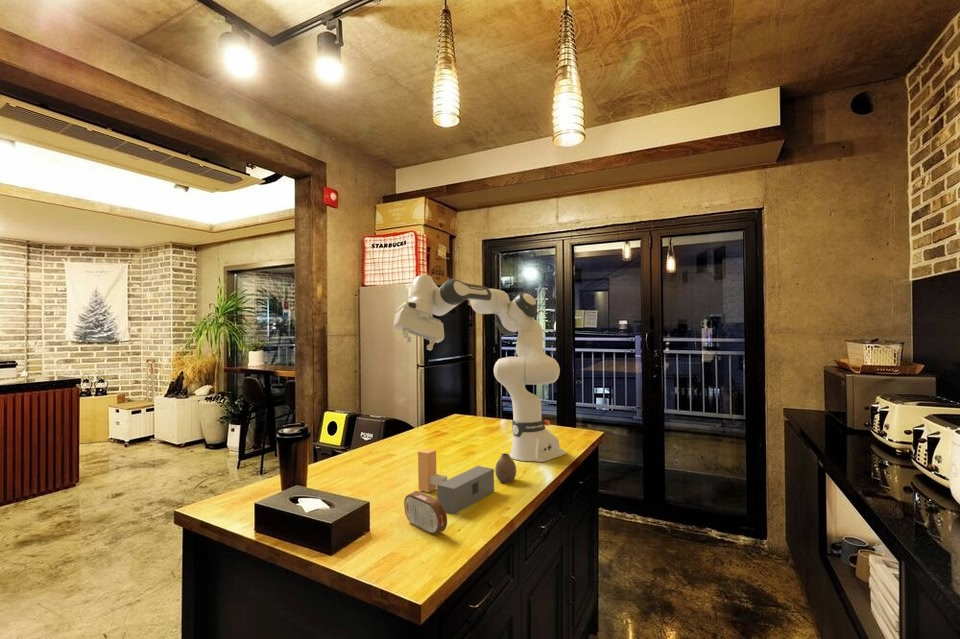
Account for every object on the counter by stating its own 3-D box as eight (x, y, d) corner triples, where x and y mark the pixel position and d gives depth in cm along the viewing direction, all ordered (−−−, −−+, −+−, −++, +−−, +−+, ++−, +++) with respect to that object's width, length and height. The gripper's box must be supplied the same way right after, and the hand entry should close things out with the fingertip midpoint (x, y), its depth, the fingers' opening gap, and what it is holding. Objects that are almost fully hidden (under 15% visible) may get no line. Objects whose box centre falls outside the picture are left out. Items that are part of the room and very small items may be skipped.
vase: (518, 478, 150) (518, 452, 150) (513, 485, 144) (512, 458, 144) (499, 476, 152) (498, 450, 152) (492, 483, 146) (492, 456, 146)
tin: (448, 536, 110) (447, 501, 110) (438, 540, 108) (437, 505, 108) (412, 518, 121) (411, 486, 121) (402, 522, 118) (401, 490, 118)
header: (494, 491, 139) (493, 468, 139) (454, 514, 122) (454, 488, 122) (478, 487, 142) (477, 465, 142) (437, 509, 126) (437, 484, 126)
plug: (449, 491, 139) (448, 452, 139) (440, 495, 135) (440, 455, 135) (427, 486, 144) (426, 448, 144) (418, 490, 140) (418, 451, 141)
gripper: (438, 324, 176) (437, 356, 169) (393, 307, 165) (389, 341, 158) (448, 318, 172) (447, 350, 165) (402, 300, 160) (399, 334, 153)
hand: (418, 345), depth 161 cm, fingers open, 8 cm apart
